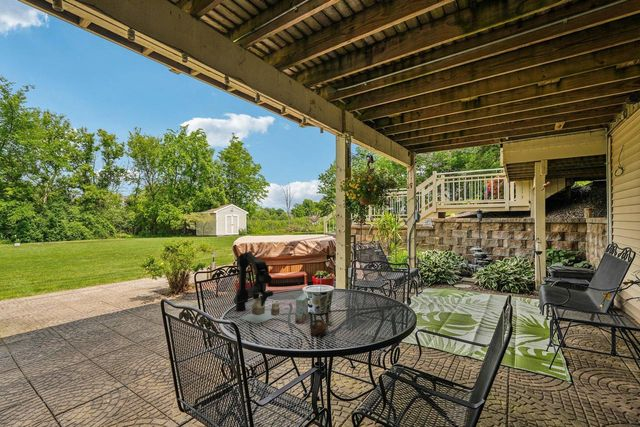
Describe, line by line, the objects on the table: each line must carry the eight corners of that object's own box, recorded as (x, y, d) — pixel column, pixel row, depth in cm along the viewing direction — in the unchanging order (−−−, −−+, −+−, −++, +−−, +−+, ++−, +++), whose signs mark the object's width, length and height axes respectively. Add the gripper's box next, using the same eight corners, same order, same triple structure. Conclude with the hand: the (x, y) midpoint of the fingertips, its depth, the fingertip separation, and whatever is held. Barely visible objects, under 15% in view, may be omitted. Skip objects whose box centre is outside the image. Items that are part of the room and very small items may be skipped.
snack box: (303, 324, 183) (303, 300, 184) (294, 323, 184) (295, 299, 185) (311, 313, 204) (311, 292, 204) (303, 313, 205) (303, 291, 206)
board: (238, 319, 191) (238, 317, 191) (262, 310, 209) (262, 309, 209) (257, 325, 180) (257, 323, 180) (281, 315, 199) (281, 314, 199)
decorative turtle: (313, 339, 159) (313, 324, 160) (307, 331, 174) (306, 317, 174) (330, 337, 162) (329, 322, 163) (322, 329, 176) (321, 315, 177)
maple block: (253, 307, 185) (253, 299, 185) (259, 305, 189) (259, 297, 189) (259, 308, 182) (259, 300, 182) (264, 306, 186) (265, 298, 186)
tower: (271, 314, 197) (271, 303, 198) (275, 313, 201) (275, 302, 201) (275, 315, 195) (275, 304, 195) (279, 314, 198) (279, 303, 199)
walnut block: (252, 313, 199) (252, 304, 199) (258, 311, 204) (258, 302, 204) (258, 315, 196) (258, 306, 196) (264, 313, 201) (264, 304, 201)
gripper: (240, 281, 185) (239, 306, 184) (260, 285, 174) (260, 311, 174) (253, 278, 194) (252, 302, 193) (273, 282, 183) (273, 307, 183)
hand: (259, 305), depth 186 cm, fingers closed on maple block, 5 cm apart
